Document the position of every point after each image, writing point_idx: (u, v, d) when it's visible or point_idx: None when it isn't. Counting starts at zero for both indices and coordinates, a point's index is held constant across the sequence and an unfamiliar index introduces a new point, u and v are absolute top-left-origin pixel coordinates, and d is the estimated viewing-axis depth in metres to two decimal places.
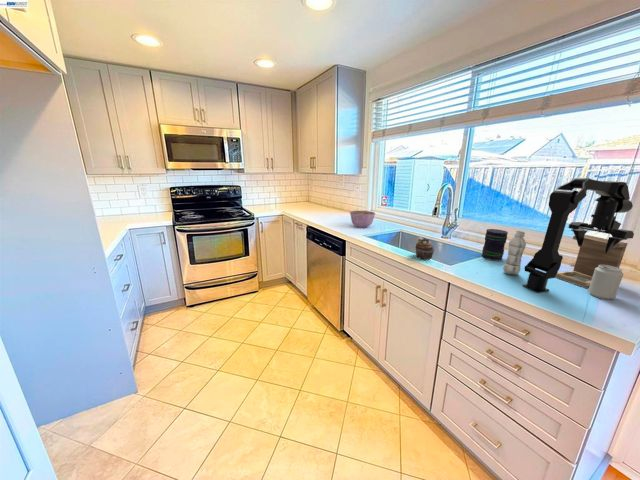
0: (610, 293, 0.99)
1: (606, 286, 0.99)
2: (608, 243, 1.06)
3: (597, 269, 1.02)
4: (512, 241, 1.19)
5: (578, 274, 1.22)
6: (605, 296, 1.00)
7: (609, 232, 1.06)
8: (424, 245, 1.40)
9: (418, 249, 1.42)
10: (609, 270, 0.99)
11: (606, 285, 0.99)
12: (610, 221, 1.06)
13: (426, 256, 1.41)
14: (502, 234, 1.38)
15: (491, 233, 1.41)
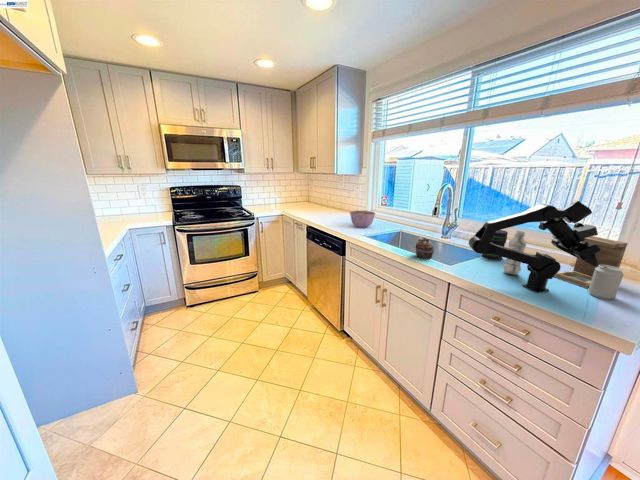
0: (610, 293, 0.99)
1: (606, 286, 0.99)
2: (584, 260, 0.97)
3: (597, 269, 1.02)
4: (512, 241, 1.19)
5: (578, 274, 1.22)
6: (605, 296, 1.00)
7: None
8: (424, 245, 1.40)
9: (418, 249, 1.42)
10: (609, 270, 0.99)
11: (606, 285, 0.99)
12: (570, 239, 0.99)
13: (426, 256, 1.41)
14: (502, 234, 1.38)
15: None
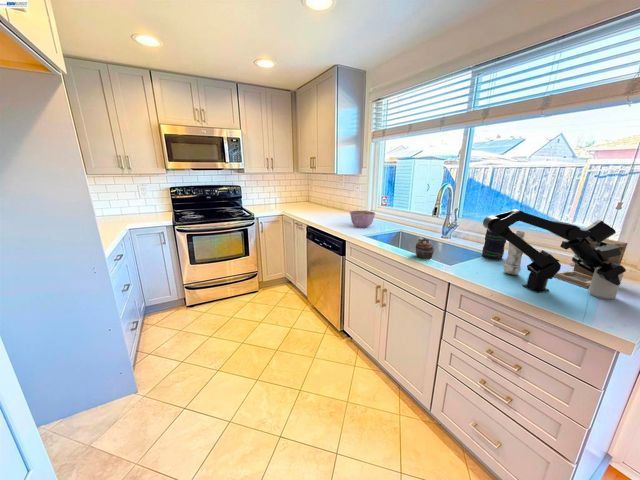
0: (610, 293, 0.99)
1: (606, 286, 0.99)
2: None
3: (597, 269, 1.02)
4: None
5: (578, 274, 1.22)
6: (605, 296, 1.00)
7: None
8: (424, 245, 1.40)
9: (418, 249, 1.42)
10: None
11: (606, 285, 0.99)
12: (593, 258, 0.99)
13: (426, 256, 1.41)
14: None
15: (491, 233, 1.41)
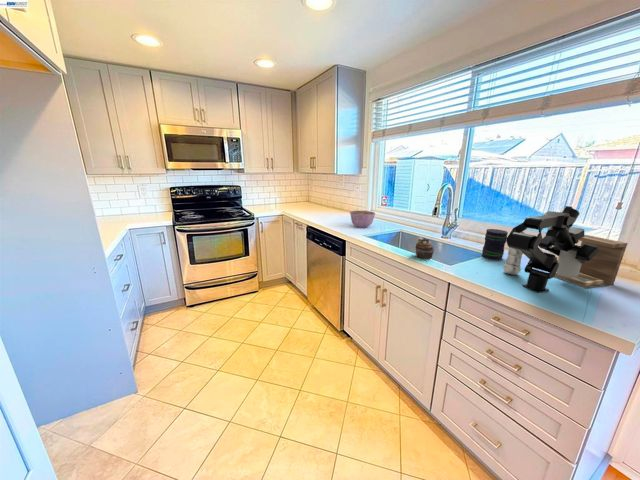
0: (577, 272, 1.10)
1: (575, 266, 1.10)
2: (578, 260, 1.07)
3: None
4: None
5: None
6: (574, 275, 1.11)
7: (575, 250, 1.07)
8: (424, 245, 1.40)
9: (418, 249, 1.42)
10: None
11: (575, 265, 1.09)
12: (570, 242, 1.06)
13: (426, 256, 1.41)
14: (502, 234, 1.38)
15: (491, 233, 1.41)
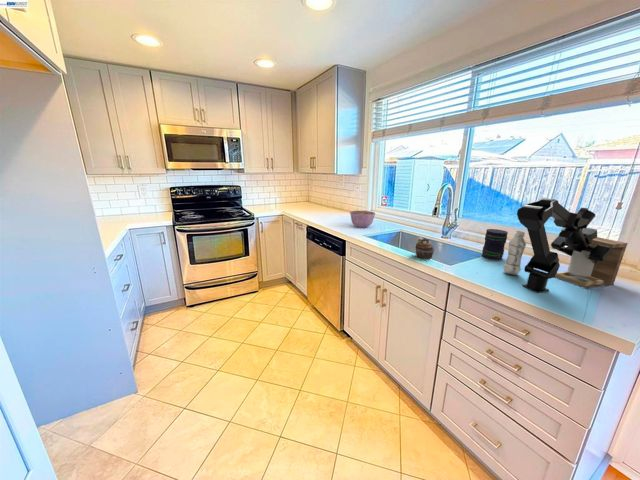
0: (590, 271, 1.13)
1: (588, 266, 1.12)
2: (591, 260, 1.10)
3: (578, 252, 1.14)
4: (512, 241, 1.19)
5: None
6: (587, 275, 1.13)
7: (589, 250, 1.09)
8: (424, 245, 1.40)
9: (418, 249, 1.42)
10: None
11: (588, 265, 1.12)
12: (583, 243, 1.08)
13: (426, 256, 1.41)
14: (502, 234, 1.38)
15: (491, 233, 1.41)
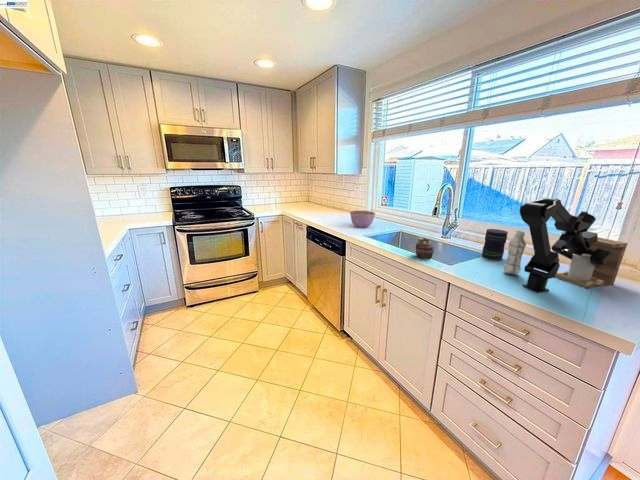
0: (589, 277, 1.14)
1: (587, 271, 1.13)
2: (593, 264, 1.10)
3: (578, 257, 1.14)
4: (512, 241, 1.19)
5: None
6: (586, 280, 1.14)
7: (589, 254, 1.10)
8: (424, 245, 1.40)
9: (418, 249, 1.42)
10: (589, 257, 1.12)
11: (588, 270, 1.13)
12: (584, 246, 1.09)
13: (426, 256, 1.41)
14: (502, 234, 1.38)
15: (491, 233, 1.41)
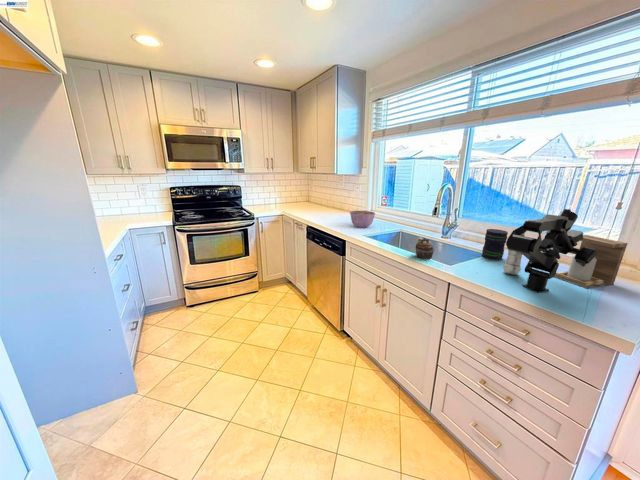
0: (589, 277, 1.14)
1: (587, 271, 1.13)
2: (579, 263, 1.07)
3: None
4: None
5: None
6: (586, 280, 1.14)
7: (574, 253, 1.07)
8: (424, 245, 1.40)
9: (418, 249, 1.42)
10: None
11: (588, 270, 1.13)
12: (568, 245, 1.06)
13: (426, 256, 1.41)
14: (502, 234, 1.38)
15: (491, 233, 1.41)
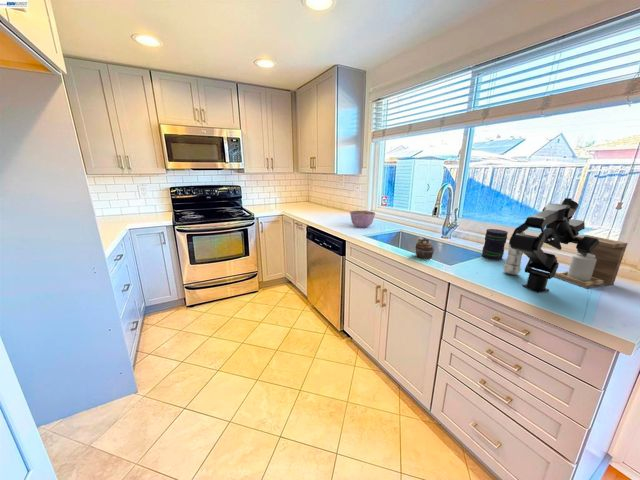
0: (589, 277, 1.14)
1: (587, 271, 1.13)
2: (580, 253, 1.06)
3: (578, 257, 1.14)
4: None
5: None
6: (586, 280, 1.14)
7: (575, 242, 1.06)
8: (424, 245, 1.40)
9: (418, 249, 1.42)
10: (589, 257, 1.12)
11: (588, 270, 1.13)
12: (570, 234, 1.05)
13: (426, 256, 1.41)
14: (502, 234, 1.38)
15: (491, 233, 1.41)
